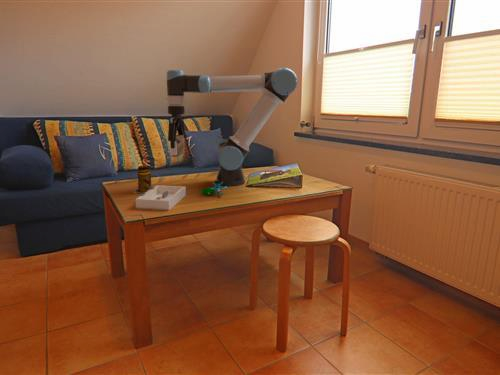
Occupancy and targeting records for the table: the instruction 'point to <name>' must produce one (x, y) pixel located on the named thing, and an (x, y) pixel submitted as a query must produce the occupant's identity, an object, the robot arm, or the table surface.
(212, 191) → the stick construction toy
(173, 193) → the shallow white tray
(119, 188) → the table surface
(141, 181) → the condiment
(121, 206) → the table surface
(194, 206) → the table surface
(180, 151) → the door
